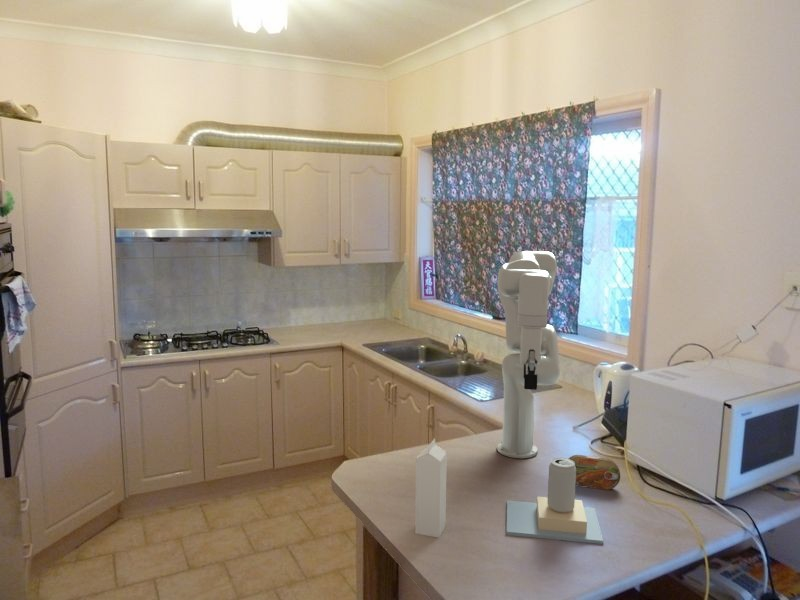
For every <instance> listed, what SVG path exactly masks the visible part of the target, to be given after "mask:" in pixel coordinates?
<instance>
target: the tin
mask: <svg viewBox="0 0 800 600" xmlns="http://www.w3.org/2000/svg"><path fill="white" fill-rule="evenodd" d="M568 459H570V460H572V461H574V463H575V467H576V482H575V486H576V485H578V486H577V487H582V486H587V487H586V488H589V487H592V488H591V489H596V488H597V490H602V491H603V490H604V491H608V490H613V489H614V488H616V487H617V486H618V485H619V483H620V481H621V471H620V468H619V466H618V465H617V463H616V462H615V461H613V460H612V459H610V458H606V457H598V456H590V455H583V454H574V455H572V456H570V457H568Z"/></svg>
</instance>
